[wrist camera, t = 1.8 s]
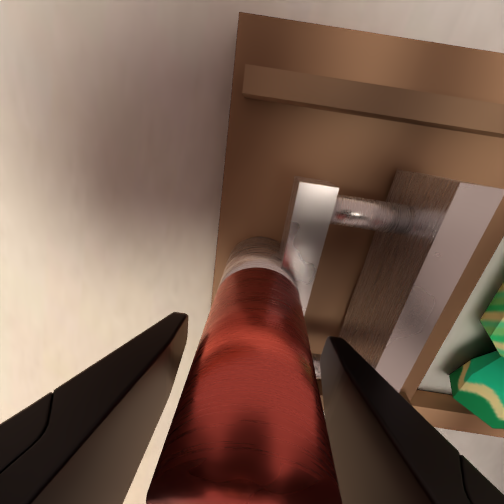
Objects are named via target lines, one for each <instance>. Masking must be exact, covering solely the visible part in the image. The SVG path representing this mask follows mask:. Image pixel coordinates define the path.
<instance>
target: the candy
mask: <svg viewBox="0 0 504 504" xmlns="http://www.w3.org/2000/svg"><path fill="white" fill-rule="evenodd" d="M480 322H481V323H482V325H483V327H484V329H485V330H486V332H487V334H488V335H489V337H490V339H491V341H492V342H493V344H494V346H495V347H496V349H497V351H495V352H492V353H489V354H486V355H483V356H480V357H477V358H474V359H471V360H470V361H468V362H467V363H466V364H464V365H463V366H461V367H460V368H458V369H457V370H455V371H454V372H453V373H451V374H450V375H449V377H450V383H451V389H452V395H453V398H454V399H455V400H456V401H457V402H459V403H460V404H461V405H463V406H464V407H465V408H467V409H468V410H469V411H471V412H472V413H473V414H474V415H476V416H477V417H478V418H480V419H481V420H482V421H484V422H485V423H486V424H487V425H489V426H490V427H491V428H493V429H504V282H503V284H502V285H501V287H500V288H499V290H498V292H497V293H496V295H495V296H494V298H493V300H492V301H491V303H490V304H489V306H488V308H487V309H486V311H485V312H484V314H483V316H482V317H481V319H480Z"/></svg>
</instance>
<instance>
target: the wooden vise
mask: <svg viewBox="0 0 504 504" xmlns="http://www.w3.org/2000/svg"><path fill="white" fill-rule="evenodd" d="M397 170H404V171H410V172H416V173H423V174H429V175H434V176H439V177H444V178H450V179H455V180H460V181H465V182H470V183H475V184H480V185H485V186H490V187H496V188H501V189H504V53H497V52H491V51H485V50H478V49H472V48H465V47H459V46H453V45H446V44H440V43H434V42H427V41H421V40H415V39H408V38H402V37H395V36H389V35H383V34H376V33H370V32H364V31H357V30H351V29H345V28H338V27H332V26H325V25H319V24H313V23H306V22H300V21H294V20H287V19H281V18H275V17H268V16H262V15H256V14H249V13H243V12H239V20H238V30H237V41H236V51H235V62H234V72H233V83H232V93H231V104H230V114H229V125H228V135H227V146H226V156H225V166H224V177H223V187H222V198H221V208H220V219H219V229H218V240H217V250H216V261H215V271H214V282H213V292H212V302H211V307H212V304H213V301H214V299H215V296H216V293H217V290H218V287H219V284H220V281H221V278H222V275H223V273H224V270H225V267H226V264H227V261H228V258H229V255H230V253H231V251H232V250H233V249H234V247H235V246H236V245H238V244H239V243H240V242H242V241H243V240H246V239H248V238H252V237H267V238H271V239H274V240H276V241H278V242H279V243H281V240H282V235H283V230H284V225H285V220H286V215H287V210H288V205H289V200H290V195H291V191H292V186H293V181H294V176H300V177H306V178H313V179H319V180H326V181H329V182H330V183H332V184H334V185H335V186H337V187H338V188H339V191H338V194H339V195H345V196H352V197H358V198H365V199H371V200H378V201H384V202H386V200H387V197H388V194H389V191H390V188H391V185H392V183H393V180H394V177H395V174H396V171H397ZM374 234H375V231H374V230H367V229H361V228H354V227H348V226H342V225H335V224H329V228H328V231H327V235H326V239H325V242H324V246H323V250H322V253H321V257H320V261H319V264H318V268H317V272H316V275H315V279H314V282H313V286H312V290H311V293H310V297H309V301H308V304H307V308H306V312H305V315H304V319H305V324H306V329H307V334H308V339H309V344H310V348H311V353H315V354H322V351H323V348H324V345H325V342H326V339H327V337H329V336H335V337H338V336H339V333H340V330H341V327H342V325H343V322H344V319H345V316H346V313H347V310H348V307H349V305H350V302H351V299H352V296H353V293H354V290H355V288H356V285H357V282H358V279H359V276H360V273H361V271H362V268H363V265H364V262H365V259H366V256H367V254H368V251H369V248H370V245H371V242H372V239H373V237H374ZM503 236H504V196H503V198H502V200H501V202H500V204H499V205H498V207H497V209H496V211H495V213H494V215H493V217H492V219H491V221H490V222H489V224H488V226H487V228H486V230H485V232H484V234H483V236H482V237H481V239H480V241H479V243H478V245H477V247H476V249H475V251H474V253H473V254H472V256H471V258H470V260H469V262H468V264H467V266H466V268H465V269H464V271H463V273H462V275H461V277H460V279H459V281H458V283H457V285H456V286H455V288H454V290H453V292H452V294H451V296H450V298H449V300H448V301H447V303H446V305H445V307H444V309H443V311H442V313H441V315H440V317H439V318H438V320H437V322H436V324H435V326H434V328H433V330H432V332H431V333H430V335H429V337H428V339H427V341H426V343H425V345H424V347H423V349H422V350H421V352H420V354H419V356H418V358H417V360H416V362H415V364H414V365H413V367H412V369H411V371H410V373H409V375H408V377H407V379H406V381H405V382H404V384H403V386H402V388H401V390H400V392H399V394H401V395H402V396H403V397H404V398H405V399H406V400H407V401H408V402H409V403H410V404H411V405H412V406H413V407H414V408H415V409H416V410H417V411H418V412H419V413H420V414H421V415H422V416H423V417H424V418H425V419H426V420H427V421H428V422H429V423H430V424H431V425H432V426H433V427H438V428H444V429H451V430H457V431H464V432H470V433H477V434H483V435H490V436H496V437H503V438H504V429H493V428H491V427H490V426H489V425H487V424H486V423H485V422H484V421H482V420H481V419H480V418H478V417H477V416H476V415H474V414H473V413H472V412H471V411H469V410H468V409H467V408H465V407H464V406H463V405H461V404H460V403H459V402H457V401H456V400H455V399H454V398H453V395H448V394H441V393H435V392H428V391H422V390H417V388H418V386H419V384H420V383H421V381H422V379H423V377H424V376H425V374H426V372H427V370H428V369H429V367H430V365H431V363H432V362H433V360H434V358H435V356H436V354H437V353H438V351H439V349H440V347H441V346H442V344H443V342H444V340H445V339H446V337H447V335H448V333H449V332H450V330H451V328H452V326H453V324H454V323H455V321H456V319H457V317H458V316H459V314H460V312H461V310H462V309H463V307H464V305H465V303H466V302H467V300H468V298H469V296H470V294H471V293H472V291H473V289H474V287H475V286H476V284H477V282H478V280H479V279H480V277H481V275H482V273H483V272H484V270H485V268H486V266H487V264H488V263H489V261H490V259H491V257H492V256H493V254H494V252H495V250H496V249H497V247H498V245H499V243H500V241H501V240H502V238H503ZM317 382H318V387H319V392H320V397H321V402H322V407H323V410H324V404H323V393H322V382H321V379H319V378H317Z"/></svg>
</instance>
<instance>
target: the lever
mask: <svg viewBox="0 0 504 504" xmlns="http://www.w3.org/2000/svg"><path fill="white" fill-rule="evenodd" d="M338 191H339V188H338V187H337V186H335V185H334V184H332V183H330V182H329V181H326V180H319V179H313V178H306V177H300V176H294V181H293V186H292V191H291V195H290V200H289V205H288V210H287V215H286V220H285V225H284V230H283V235H282V240H281V243H279V242H278V241H276V240H274V239H271V238H267V237H252V238H248V239H246V240H243V241H242V242H240V243H239V244H238V245H236V246H235V247H234V249H233V250H232V251H231V253H230V255H229V258H228V261H227V264H226V267H225V270H224V273H223V275H222V278H221V281H220V284H219V287H218V290H217V293H216V296H215V299H214V301H213V304H212V307H211V310H210V313H209V316H208V319H207V322H206V325H205V328H204V330H203V333H202V336H201V339H200V342H199V345H198V348H197V351H196V354H195V356H194V359H193V362H192V365H191V368H190V371H189V374H188V377H187V380H186V382H185V385H184V388H183V391H182V394H181V397H180V400H179V403H178V406H177V409H176V411H175V414H174V417H173V420H172V423H171V426H170V429H169V432H168V435H167V437H166V440H165V443H164V446H163V449H162V452H161V455H160V458H159V461H158V464H157V466H156V469H155V472H154V475H153V478H152V481H151V484H150V487H149V490H148V492H147V497H146V504H342V499H341V494H340V489H339V484H338V480H337V475H336V470H335V465H334V460H333V455H332V450H331V446H330V441H329V436H328V431H327V426H326V421H325V416H324V412H323V407H322V402H321V397H320V392H319V387H318V382H317V378H319V379H321V371H320V357H321V354H315V353H311V348H310V344H309V339H308V334H307V329H306V324H305V319H304V315H305V312H306V308H307V304H308V301H309V297H310V293H311V290H312V286H313V282H314V279H315V275H316V272H317V268H318V264H319V261H320V257H321V253H322V250H323V246H324V242H325V239H326V235H327V231H328V228H329V224H335V225H342V226H348V227H354V228H361V229H367V230H374V231H375V234H374V237H373V239H372V242H371V245H370V248H369V251H368V254H367V256H366V259H365V262H364V265H363V268H362V271H361V273H360V276H359V279H358V282H357V285H356V288H355V290H354V293H353V296H352V299H351V302H350V305H349V307H348V310H347V313H346V316H345V319H344V322H343V325H342V327H341V330H340V333H339V336H338V337H341V338H343V339H344V340H345V341H346V342H347V343H348V344H349V345H351V346H352V347H353V348H354V349H355V350H356V351H357V352H358V353H359V354H360V355H361V356H362V357H363V358H364V359H365V360H366V361H367V362H368V363H369V364H370V365H371V366H372V367H373V368H374V369H375V370H376V371H377V372H378V373H379V374H380V375H381V376H382V377H383V378H384V379H385V380H386V381H387V382H388V383H389V384H390V385H391V386H392V387H393V388H394V389H395V390H396V391H397V392H398V393H399V392H400V390H401V388H402V386H403V384H404V382H405V381H406V379H407V377H408V375H409V373H410V371H411V369H412V367H413V365H414V364H415V362H416V360H417V358H418V356H419V354H420V352H421V350H422V349H423V347H424V345H425V343H426V341H427V339H428V337H429V335H430V333H431V332H432V330H433V328H434V326H435V324H436V322H437V320H438V318H439V317H440V315H441V313H442V311H443V309H444V307H445V305H446V303H447V301H448V300H449V298H450V296H451V294H452V292H453V290H454V288H455V286H456V285H457V283H458V281H459V279H460V277H461V275H462V273H463V271H464V269H465V268H466V266H467V264H468V262H469V260H470V258H471V256H472V254H473V253H474V251H475V249H476V247H477V245H478V243H479V241H480V239H481V237H482V236H483V234H484V232H485V230H486V228H487V226H488V224H489V222H490V221H491V219H492V217H493V215H494V213H495V211H496V209H497V207H498V205H499V204H500V202H501V200H502V198H503V196H504V189H501V188H496V187H490V186H485V185H480V184H475V183H470V182H465V181H460V180H455V179H450V178H444V177H439V176H434V175H429V174H423V173H416V172H410V171H404V170H397V171H396V174H395V177H394V180H393V183H392V185H391V188H390V191H389V194H388V197H387V200H386V202H384V201H378V200H371V199H365V198H358V197H352V196H345V195H339V194H338Z"/></svg>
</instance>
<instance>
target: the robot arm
mask: <svg viewBox="0 0 504 504" xmlns="http://www.w3.org/2000/svg"><path fill="white" fill-rule="evenodd" d="M187 333H188V315H187V314H185V313H179V312H173V313H171V314H170V315H168V316H167V317H165V318H164V319H162V320H161V321H159V322H158V323H156V324H155V325H153V326H152V327H150V328H148V329H147V330H145V331H144V332H142V333H141V334H139V335H138V336H136V337H135V338H133V339H132V340H130V341H128V342H127V343H125V344H124V345H122V346H121V347H119V348H118V349H116V350H115V351H113V352H112V353H110V354H108V355H107V356H105V357H104V358H102V359H101V360H99V361H98V362H96V363H95V364H93V365H92V366H90V367H88V368H87V369H85V370H84V371H82V372H81V373H79V374H78V375H76V376H75V377H73V378H72V379H70V380H69V381H67V382H65V383H64V384H62V385H61V386H59V387H58V388H56V389H55V390H54V392H53V393H52V392H50V393H48V394H47V395H45V396H44V397H42V398H41V399H39V400H38V401H36V402H34V403H33V404H31V405H30V406H28V407H27V408H25V409H23V410H22V411H20V412H19V413H17V414H15V415H14V416H12V417H11V418H9V419H7V420H6V421H4V422H3V423H1V424H0V504H123V502H124V499H125V497H126V495H127V492H128V490H129V488H130V486H131V483H132V481H133V479H134V476H135V474H136V472H137V469H138V467H139V465H140V463H141V460H142V458H143V456H144V453H145V451H146V449H147V447H148V444H149V442H150V440H151V437H152V435H153V433H154V430H155V428H156V426H157V424H158V421H159V419H160V417H161V414H162V412H163V410H164V408H165V405H166V403H167V400H168V398H169V395H170V393H171V390H172V387H173V384H174V380H175V377H176V374H177V371H178V368H179V364H180V361H181V358H182V355H183V351H184V348H185V345H186V341H187ZM320 371H321V382H322V393H323V404H324V414H325V421H326V426H327V431H328V436H329V441H330V446H331V450H332V455H333V460H334V465H335V470H336V475H337V480H338V484H339V489H340V494H341V499H342V504H504V495H503V494H502V493H501V492H500V491H499V490H498V489H497V488H496V487H495V486H494V485H493V484H492V483H491V482H490V481H489V480H488V479H487V478H485V477H484V476H483V475H482V474H481V473H480V472H479V471H478V470H477V469H476V468H475V467H474V466H473V465H472V464H471V463H470V462H469V461H468V460H467V459H466V458H465V457H464V456H463V455H459V452H458V450H457V449H456V448H455V447H454V446H453V445H452V444H451V443H449V442H448V441H447V440H446V439H445V438H444V437H443V436H442V435H441V434H440V433H439V432H438V431H437V430H436V429H435V428H434V427H433V426H432V425H431V424H430V423H429V422H428V421H427V420H426V419H425V418H424V417H423V416H422V415H421V414H420V413H419V412H418V411H417V410H416V409H415V408H414V407H413V406H412V405H411V404H410V403H409V402H408V401H407V400H406V399H405V398H404V397H403V396H402V395H401V394H399V393H398V392H397V391H396V390H395V389H394V388H393V387H392V386H391V385H390V384H389V383H388V382H387V381H386V380H385V379H384V378H383V377H382V376H381V375H380V374H379V373H378V372H377V371H376V370H375V369H374V368H373V367H372V366H371V365H370V364H369V363H368V362H367V361H366V360H365V359H364V358H363V357H362V356H361V355H360V354H359V353H358V352H357V351H356V350H355V349H354V348H353V347H352V346H351V345H349V344H348V343H347V342H346V341H345V340H344V339H343V338H341V337H335V336H329V337H327V339H326V342H325V345H324V348H323V351H322V354H321V357H320Z"/></svg>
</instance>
